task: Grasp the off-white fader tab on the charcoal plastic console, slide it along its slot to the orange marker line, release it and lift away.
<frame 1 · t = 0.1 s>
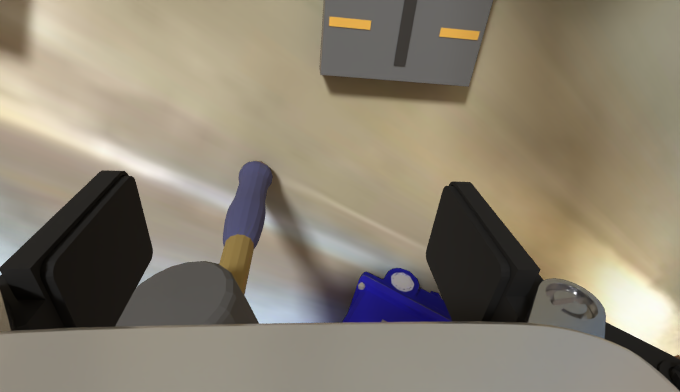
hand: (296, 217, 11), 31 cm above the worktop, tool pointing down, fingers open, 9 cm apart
blue valve actuator: (376, 323, 63), on the worktop
rubber mallet: (257, 169, 45), on the worktop
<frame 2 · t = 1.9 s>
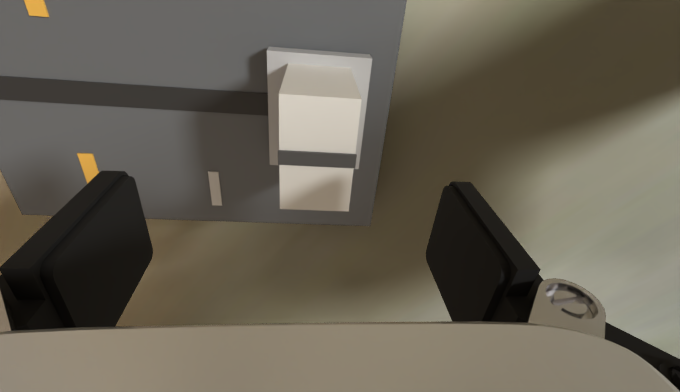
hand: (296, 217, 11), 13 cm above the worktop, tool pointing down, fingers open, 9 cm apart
console: (201, 84, 21), on the worktop
fader: (317, 130, 17), point 6 cm above the worktop, slide at -7.0 cm
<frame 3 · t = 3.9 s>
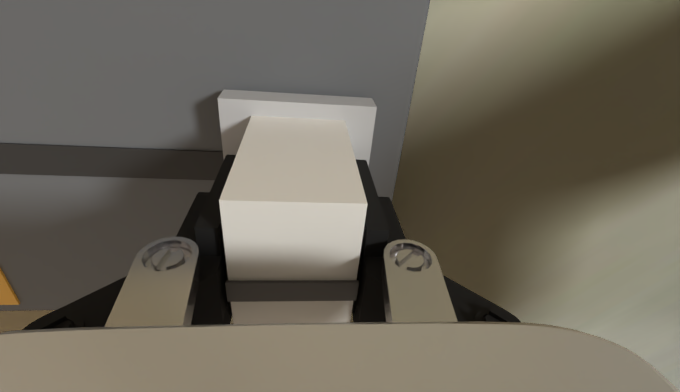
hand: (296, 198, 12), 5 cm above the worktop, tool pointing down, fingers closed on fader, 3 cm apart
console: (139, 131, 16), on the worktop
fader: (296, 217, 11), point 6 cm above the worktop, slide at -7.0 cm, touching gripper
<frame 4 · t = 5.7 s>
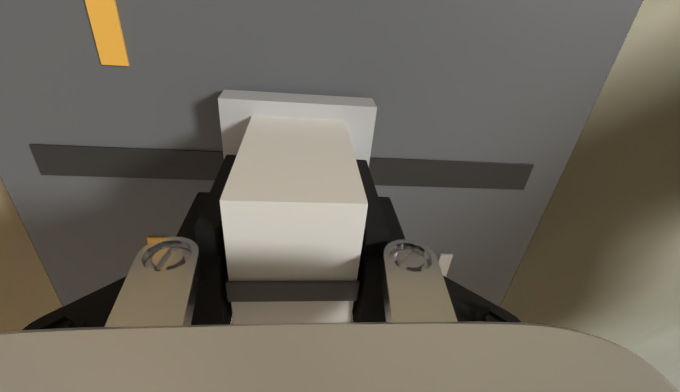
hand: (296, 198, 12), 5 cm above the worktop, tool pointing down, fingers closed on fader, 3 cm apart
console: (302, 138, 16), on the worktop
fader: (296, 218, 11), point 6 cm above the worktop, slide at 0.1 cm, touching gripper
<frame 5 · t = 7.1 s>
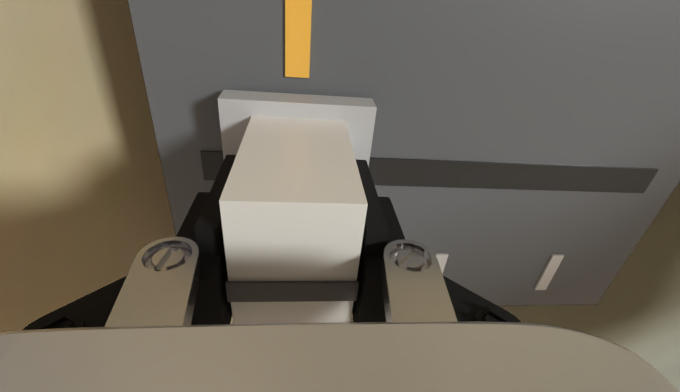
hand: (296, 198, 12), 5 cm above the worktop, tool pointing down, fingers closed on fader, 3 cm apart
console: (422, 143, 17), on the worktop
fader: (296, 218, 11), point 6 cm above the worktop, slide at 5.9 cm, touching gripper
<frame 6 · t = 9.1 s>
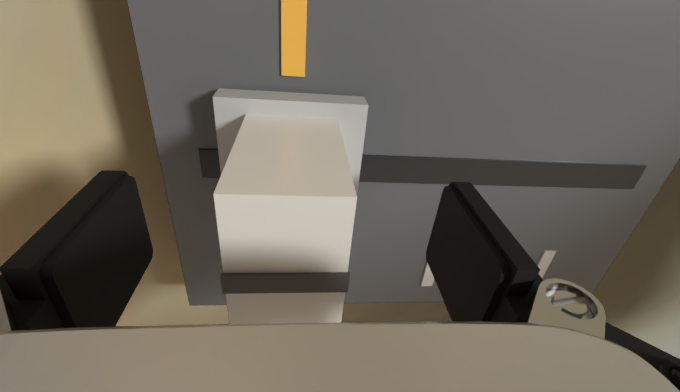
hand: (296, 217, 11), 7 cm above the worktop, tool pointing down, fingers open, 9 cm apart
console: (416, 141, 17), on the worktop
fader: (290, 213, 11), point 6 cm above the worktop, slide at 6.0 cm
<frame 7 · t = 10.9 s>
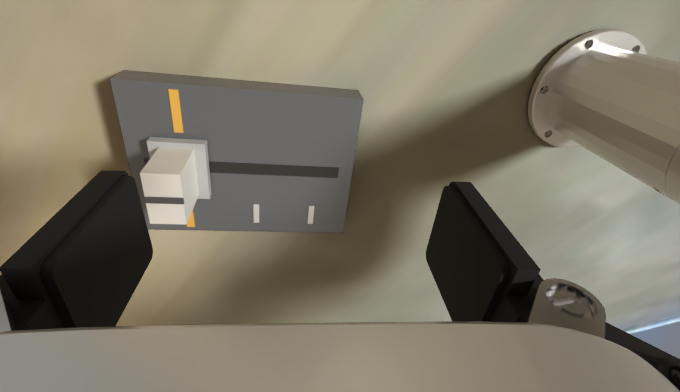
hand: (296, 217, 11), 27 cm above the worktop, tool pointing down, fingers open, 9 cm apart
console: (248, 155, 38), on the worktop
fader: (174, 182, 32), point 6 cm above the worktop, slide at 6.0 cm
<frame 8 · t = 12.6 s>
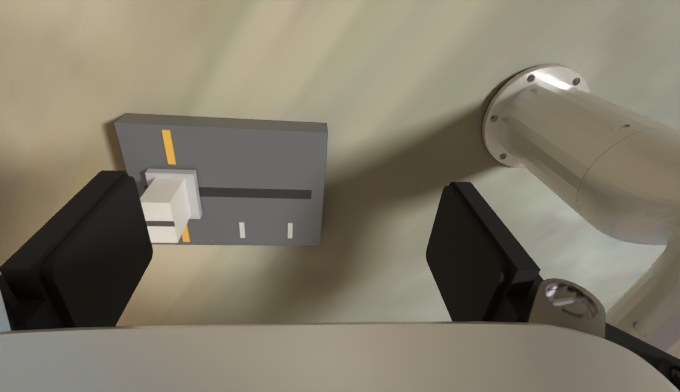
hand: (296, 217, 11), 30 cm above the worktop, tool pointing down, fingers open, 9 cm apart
console: (234, 179, 44), on the worktop
fader: (167, 207, 38), point 6 cm above the worktop, slide at 6.0 cm
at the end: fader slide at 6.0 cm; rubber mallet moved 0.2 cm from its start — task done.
